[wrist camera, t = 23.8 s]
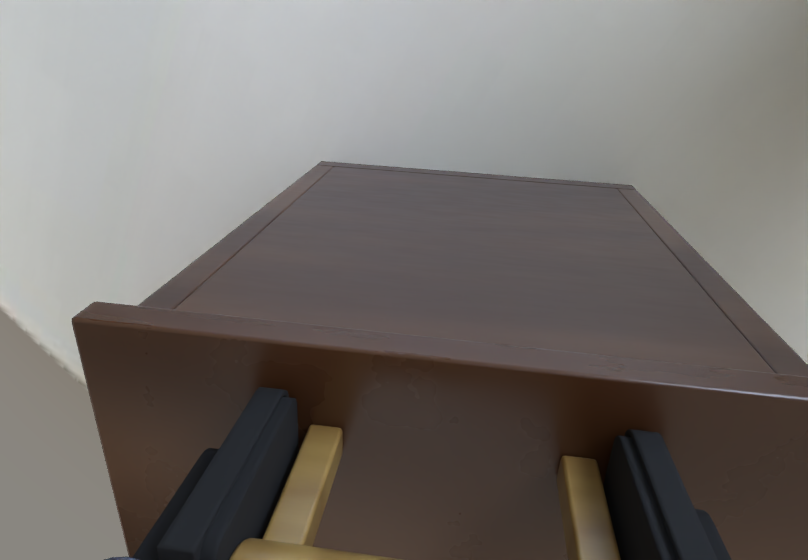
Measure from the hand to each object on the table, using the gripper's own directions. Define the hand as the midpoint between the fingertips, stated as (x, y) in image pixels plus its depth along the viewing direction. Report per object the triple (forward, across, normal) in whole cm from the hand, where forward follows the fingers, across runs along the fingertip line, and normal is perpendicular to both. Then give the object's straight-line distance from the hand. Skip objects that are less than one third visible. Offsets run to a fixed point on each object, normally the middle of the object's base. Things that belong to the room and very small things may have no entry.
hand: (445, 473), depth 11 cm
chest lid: (+1, 0, +7) cm, 7 cm away
